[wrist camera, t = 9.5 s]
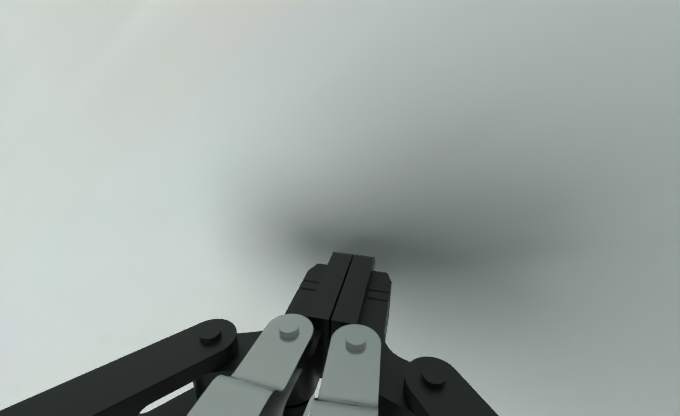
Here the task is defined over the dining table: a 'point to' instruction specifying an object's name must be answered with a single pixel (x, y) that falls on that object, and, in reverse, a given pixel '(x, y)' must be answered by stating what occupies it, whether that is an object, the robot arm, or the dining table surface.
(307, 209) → the dining table surface
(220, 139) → the dining table surface
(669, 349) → the dining table surface
